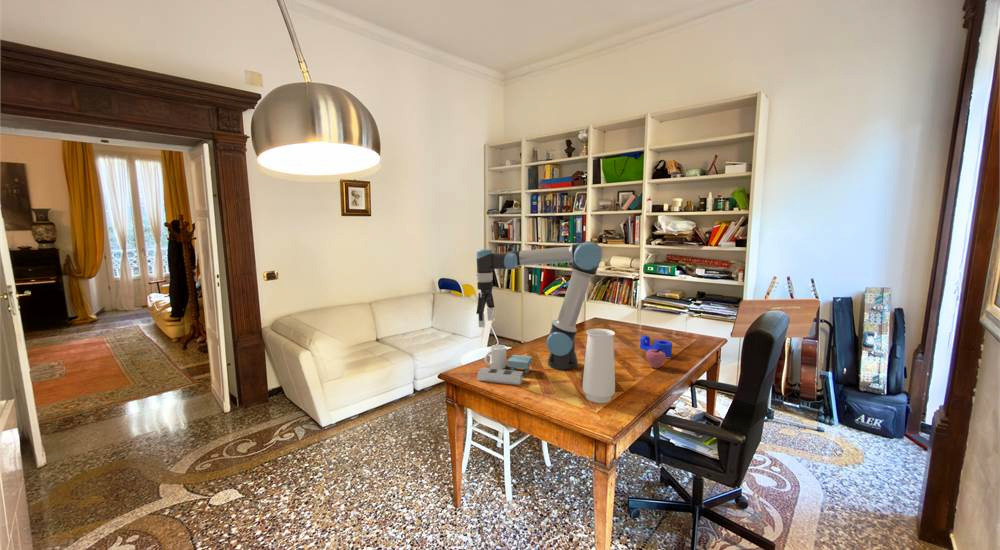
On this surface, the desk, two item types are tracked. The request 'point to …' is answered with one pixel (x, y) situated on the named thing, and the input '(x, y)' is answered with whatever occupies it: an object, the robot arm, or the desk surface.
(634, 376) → the desk surface
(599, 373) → the vase
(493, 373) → the grey block with holes
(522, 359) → the pale blue memo pad
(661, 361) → the apple
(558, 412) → the desk surface
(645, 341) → the bracket
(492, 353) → the mug
